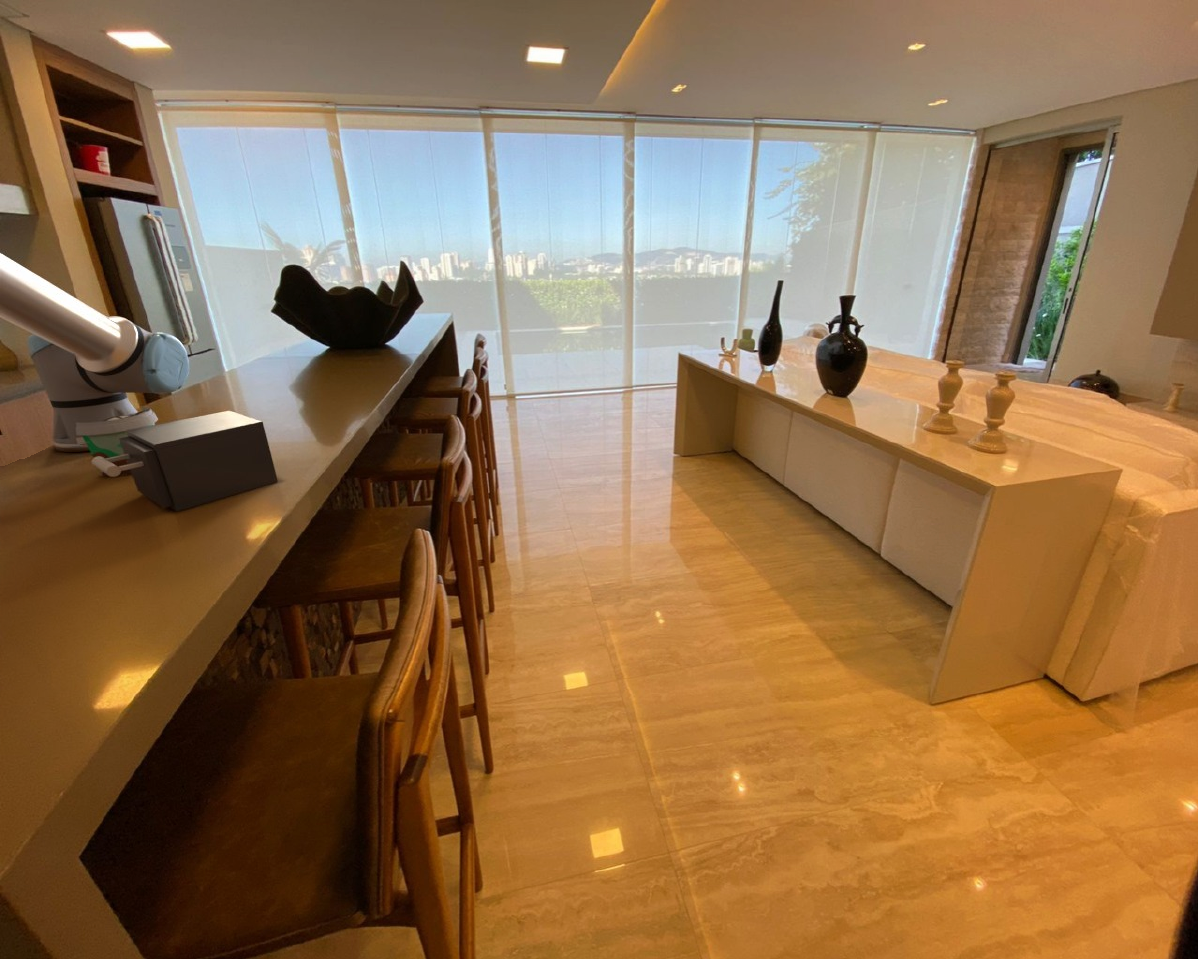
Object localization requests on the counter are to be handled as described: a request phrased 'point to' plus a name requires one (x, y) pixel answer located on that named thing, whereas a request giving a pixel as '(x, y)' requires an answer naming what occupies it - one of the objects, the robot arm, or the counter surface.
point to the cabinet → (209, 456)
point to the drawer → (139, 470)
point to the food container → (113, 434)
